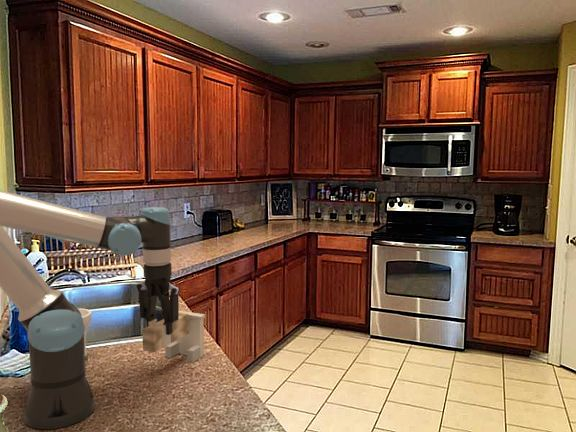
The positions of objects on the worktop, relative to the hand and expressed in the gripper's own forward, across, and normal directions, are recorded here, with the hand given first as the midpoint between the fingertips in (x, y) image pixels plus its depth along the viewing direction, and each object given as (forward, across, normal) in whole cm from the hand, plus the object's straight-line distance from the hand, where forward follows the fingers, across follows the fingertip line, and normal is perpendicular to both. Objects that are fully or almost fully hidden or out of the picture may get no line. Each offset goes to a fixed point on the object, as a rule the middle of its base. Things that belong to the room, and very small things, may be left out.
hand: (160, 343), depth 136 cm
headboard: (+8, 0, -13) cm, 15 cm away
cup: (+8, +29, +4) cm, 31 cm away
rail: (0, 0, -3) cm, 3 cm away
